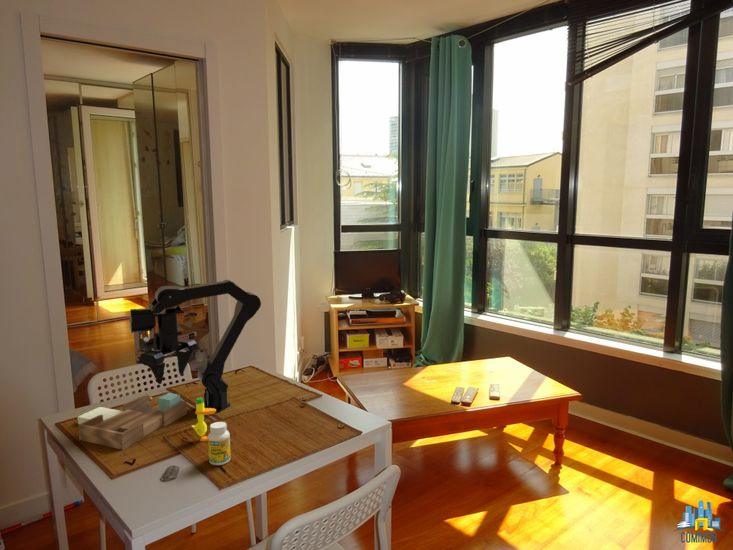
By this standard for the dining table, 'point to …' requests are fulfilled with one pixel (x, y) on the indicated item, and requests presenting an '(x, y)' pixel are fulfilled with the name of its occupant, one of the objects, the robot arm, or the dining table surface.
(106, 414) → the board
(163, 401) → the block
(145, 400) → the box
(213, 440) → the supplement bottle
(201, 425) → the toy figure
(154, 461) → the dining table surface
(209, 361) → the robot arm
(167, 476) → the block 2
